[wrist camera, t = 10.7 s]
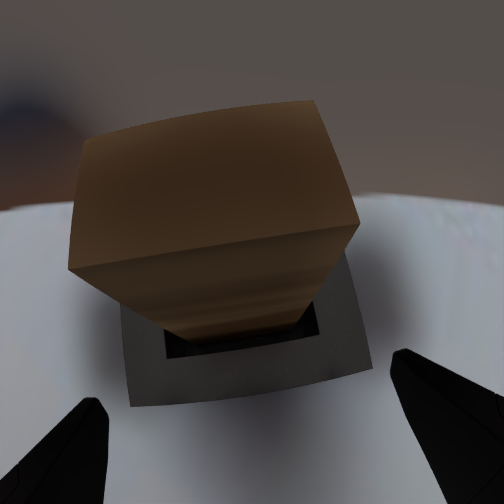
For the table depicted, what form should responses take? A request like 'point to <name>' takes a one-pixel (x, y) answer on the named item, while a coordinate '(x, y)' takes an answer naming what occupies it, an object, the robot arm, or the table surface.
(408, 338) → the table surface
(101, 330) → the table surface
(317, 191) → the brown wooden block
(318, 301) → the grey block holder
